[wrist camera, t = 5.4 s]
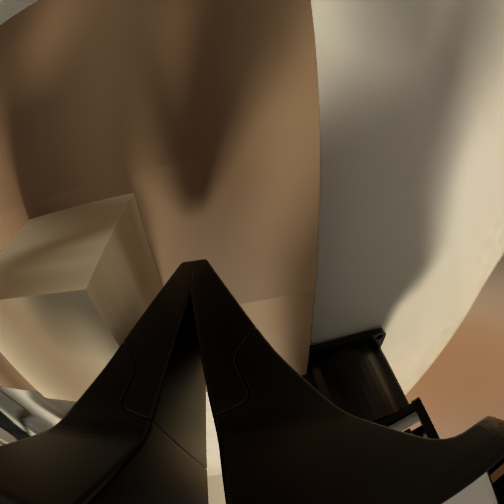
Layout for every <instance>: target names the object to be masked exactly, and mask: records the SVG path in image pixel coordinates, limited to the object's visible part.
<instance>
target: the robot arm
mask: <svg viewBox="0 0 504 504" xmlns="http://www.w3.org/2000/svg"><path fill="white" fill-rule="evenodd" d="M385 336H386V333H385V332H384V330H383V329H382V328H379V329H376V330H372V331H369V332H365V333H362V334H358V335H355V336H351V337H347V338H344V339H340V340H336V341H332V342H328V343H324V344H320V345H316V346H311V347H310V349H309V357H308V365H307V373H306V375H300V374H299V373H298V372H296V371H295V370H294V369H293V368H292V367H291V366H290V365H289V364H288V363H287V362H286V361H285V360H284V359H283V358H282V357H281V356H280V355H279V354H278V353H277V352H276V351H275V350H274V348H273V347H272V346H271V345H270V344H269V342H268V341H267V340H266V339H265V338H264V336H263V335H262V334H261V332H260V331H259V330H258V329H257V328H256V326H255V325H254V323H253V322H252V321H251V319H250V318H249V317H248V315H247V314H246V313H245V311H244V310H243V309H242V307H241V306H240V305H239V303H238V302H237V300H236V299H235V298H234V296H233V295H232V294H231V292H230V291H229V290H228V288H227V287H226V285H225V284H224V283H223V281H222V280H221V279H220V277H219V276H218V274H217V273H216V272H215V270H214V269H213V267H212V266H211V265H210V263H209V262H208V260H207V259H201V260H195V261H187V262H182V263H181V264H180V265H179V267H178V268H177V269H176V271H175V272H174V273H173V274H172V276H171V277H170V278H169V280H168V281H167V282H166V284H165V285H164V286H163V288H162V289H161V290H160V292H159V293H158V294H157V296H156V297H155V298H154V300H153V301H152V302H151V304H150V305H149V306H148V308H147V309H146V311H145V312H144V313H143V315H142V316H141V317H140V319H139V320H138V322H137V323H136V324H135V326H134V327H133V328H132V330H131V331H130V333H129V334H128V336H127V337H126V338H125V340H124V343H122V344H121V345H120V347H119V348H118V350H117V351H116V352H115V354H114V355H113V357H112V358H111V359H110V361H109V362H108V363H107V365H106V366H105V368H104V369H103V370H102V371H101V373H100V374H99V375H98V376H97V378H96V379H95V380H94V381H93V383H92V384H91V385H90V386H89V387H88V389H87V390H86V391H85V392H84V393H83V395H82V396H81V397H80V398H79V400H78V401H77V402H76V403H75V404H74V406H73V407H72V408H71V409H70V411H69V412H68V413H67V414H66V415H65V417H64V418H63V419H62V420H61V421H60V422H59V423H58V424H56V425H55V426H54V427H52V428H51V429H49V430H47V431H45V432H42V433H39V434H37V435H34V436H31V437H28V438H25V439H22V440H19V441H16V442H12V443H9V444H6V445H2V446H0V504H208V487H207V469H206V468H207V459H206V387H207V392H208V396H209V401H210V406H211V410H212V414H213V418H214V423H215V427H216V432H217V437H218V443H219V450H220V460H221V468H222V477H223V484H224V491H225V499H226V504H504V420H501V419H497V418H495V417H491V416H487V417H485V418H483V419H482V420H480V421H479V422H478V423H476V424H475V425H473V426H472V427H470V428H469V429H467V430H466V431H465V432H463V433H462V434H459V435H457V436H455V437H451V438H447V439H440V438H439V436H438V434H437V432H436V430H435V428H434V426H433V424H432V422H431V420H430V418H429V416H428V414H427V412H426V410H425V408H424V406H423V404H422V402H421V400H420V398H419V397H418V398H416V399H415V400H413V401H411V402H412V403H411V404H409V403H408V401H407V399H406V397H405V395H404V393H403V391H402V389H401V387H400V385H399V383H398V381H397V379H396V377H395V375H394V373H393V371H392V369H391V367H390V365H389V363H388V361H387V359H386V357H385V355H384V354H383V352H382V350H381V345H382V343H383V340H384V338H385ZM418 421H420V422H421V426H419V427H418V428H416V429H414V430H413V431H411V430H410V428H409V429H407V430H406V431H404V432H402V430H404V429H406V428H408V427H409V426H411V425H413V424H415V423H417V422H418Z"/></svg>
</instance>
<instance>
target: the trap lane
mask: <svg viewBox="0 0 504 504" xmlns="http://www.w3.org/2000/svg"><path fill="white" fill-rule="evenodd" d="M131 193H134V195H135V199H136V203H137V206H138V210H139V214H140V217H141V221H142V224H143V227H144V231H145V234H146V238H147V241H148V244H149V247H150V250H151V254H152V257H153V260H154V263H155V266H156V269H157V272H158V275H159V278H160V281H161V283H162V286H164V285H165V284H166V282H167V281H168V280H169V278H170V277H171V276H172V274H173V273H174V272H175V271H176V269H177V268H178V267H179V265H180V264H181V263H182V262H187V261H195V260H201V259H207V260H208V262H209V263H210V265H211V266H212V267H213V269H214V270H215V272H216V273H217V274H218V276H219V277H220V279H221V280H222V281H223V283H224V284H225V285H226V287H227V288H228V290H229V291H230V292H231V294H232V295H233V296H234V298H235V299H236V300H237V302H238V303H239V305H240V306H241V307H242V309H243V310H244V311H245V313H246V314H247V315H248V317H249V318H250V319H251V321H252V322H253V323H254V325H255V326H256V328H257V329H258V330H259V331H260V332H261V334H262V335H263V336H264V338H265V339H266V340H267V341H268V342H269V344H270V345H271V346H272V347H273V348H274V350H275V351H276V352H277V353H278V354H279V355H280V356H281V357H282V358H283V359H284V360H285V361H286V362H287V363H288V364H289V365H290V366H291V367H292V368H293V369H294V370H295V371H296V372H298V373H299V374H300V375H306V373H307V365H308V357H309V349H310V340H311V330H312V320H313V309H314V297H315V285H316V270H317V254H318V233H319V204H320V123H319V96H318V77H317V61H316V49H315V37H314V27H313V17H312V9H311V0H39V1H37V2H36V3H34V4H32V5H31V6H29V7H27V8H26V9H24V10H22V11H21V12H19V13H18V14H16V15H15V16H13V17H12V18H10V19H9V20H7V21H6V22H4V23H3V24H2V25H0V252H1V251H2V250H3V248H4V247H5V246H6V245H7V244H8V242H9V241H10V240H11V239H12V238H13V237H14V235H15V234H16V233H17V232H18V231H19V230H20V229H21V228H22V226H23V225H24V224H25V223H26V222H27V221H28V220H29V219H32V218H36V217H39V216H43V215H46V214H49V213H53V212H57V211H60V210H64V209H68V208H71V207H75V206H79V205H83V204H87V203H91V202H95V201H99V200H104V199H108V198H112V197H117V196H121V195H126V194H131ZM0 386H3V387H9V388H15V389H21V390H28V391H36V392H38V391H37V390H36V389H35V388H34V387H33V386H32V385H31V384H30V383H29V382H28V381H27V380H26V379H25V378H24V377H23V376H22V375H21V374H20V373H19V372H18V371H17V370H16V369H15V368H14V367H13V366H12V364H11V363H10V362H9V361H8V360H7V359H6V358H5V357H4V356H3V354H2V353H1V352H0ZM206 392H207V387H206Z"/></svg>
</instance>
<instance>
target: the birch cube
mask: <svg viewBox="0 0 504 504" xmlns="http://www.w3.org/2000/svg"><path fill="white" fill-rule="evenodd" d="M162 288H163V286H162V283H161V281H160V278H159V275H158V272H157V269H156V266H155V263H154V260H153V257H152V254H151V250H150V247H149V244H148V241H147V238H146V234H145V231H144V227H143V224H142V221H141V217H140V214H139V210H138V206H137V203H136V199H135V195H134V193H131V194H126V195H121V196H117V197H112V198H108V199H104V200H99V201H95V202H91V203H87V204H83V205H79V206H75V207H71V208H68V209H64V210H60V211H57V212H53V213H49V214H46V215H43V216H39V217H36V218H32V219H29V220H28V221H27V222H26V223H25V224H24V225H23V226H22V228H21V229H20V230H19V231H18V232H17V233H16V234H15V235H14V237H13V238H12V239H11V240H10V241H9V242H8V244H7V245H6V246H5V247H4V248H3V250H2V251H1V252H0V352H1V353H2V354H3V356H4V357H5V358H6V359H7V360H8V361H9V362H10V363H11V364H12V366H13V367H14V368H15V369H16V370H17V371H18V372H19V373H20V374H21V375H22V376H23V377H24V378H25V379H26V380H27V381H28V382H29V383H30V384H31V385H32V386H33V387H34V388H35V389H36V390H37V391H38V392H39V393H41V394H42V395H43V396H44V397H45V398H50V399H58V400H67V401H78V400H79V398H80V397H81V396H82V395H83V393H84V392H85V391H86V390H87V389H88V387H89V386H90V385H91V384H92V383H93V381H94V380H95V379H96V378H97V376H98V375H99V374H100V373H101V371H102V370H103V369H104V368H105V366H106V365H107V363H108V362H109V361H110V359H111V358H112V357H113V355H114V354H115V352H116V351H117V350H118V348H119V347H120V345H121V344H122V343H124V340H125V338H126V337H127V336H128V334H129V333H130V331H131V330H132V328H133V327H134V326H135V324H136V323H137V322H138V320H139V319H140V317H141V316H142V315H143V313H144V312H145V311H146V309H147V308H148V306H149V305H150V304H151V302H152V301H153V300H154V298H155V297H156V296H157V294H158V293H159V292H160V290H161V289H162Z"/></svg>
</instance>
